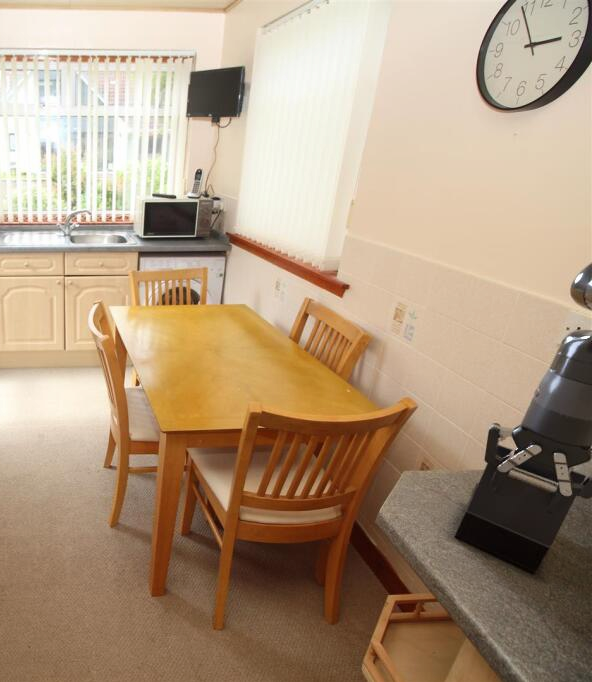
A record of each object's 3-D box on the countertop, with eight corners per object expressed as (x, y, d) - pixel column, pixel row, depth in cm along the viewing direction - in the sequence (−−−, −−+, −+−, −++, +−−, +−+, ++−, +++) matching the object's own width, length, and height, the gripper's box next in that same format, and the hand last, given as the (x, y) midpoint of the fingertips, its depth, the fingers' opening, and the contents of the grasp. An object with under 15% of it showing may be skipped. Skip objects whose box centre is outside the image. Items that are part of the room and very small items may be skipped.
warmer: (465, 506, 90) (476, 482, 88) (539, 538, 84) (553, 512, 81) (454, 537, 83) (465, 511, 81) (534, 575, 76) (549, 548, 74)
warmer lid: (496, 443, 78) (494, 450, 74) (585, 474, 71) (588, 484, 67) (467, 508, 81) (463, 518, 77) (550, 544, 74) (551, 557, 70)
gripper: (644, 415, 64) (588, 512, 70) (507, 378, 73) (469, 467, 80) (647, 436, 59) (587, 539, 66) (500, 394, 68) (460, 487, 75)
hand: (522, 499), depth 73 cm, fingers closed on warmer lid, 5 cm apart
